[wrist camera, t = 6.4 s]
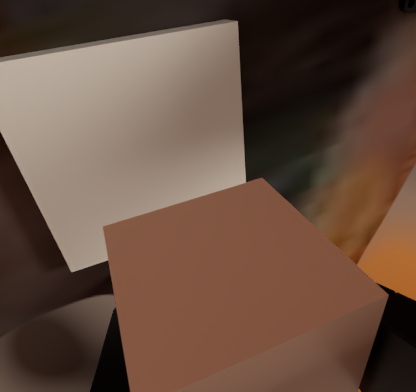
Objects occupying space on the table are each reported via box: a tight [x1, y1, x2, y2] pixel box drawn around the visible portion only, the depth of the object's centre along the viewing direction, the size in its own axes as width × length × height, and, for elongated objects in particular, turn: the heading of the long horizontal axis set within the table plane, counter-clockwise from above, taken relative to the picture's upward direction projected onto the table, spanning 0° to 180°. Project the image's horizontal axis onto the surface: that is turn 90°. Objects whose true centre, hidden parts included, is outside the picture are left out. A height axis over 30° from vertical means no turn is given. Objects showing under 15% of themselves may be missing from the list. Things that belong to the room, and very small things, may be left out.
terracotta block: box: [103, 178, 389, 392], centre depth 9 cm, size 5×5×5 cm
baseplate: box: [0, 19, 246, 272], centre depth 18 cm, size 12×12×2 cm
